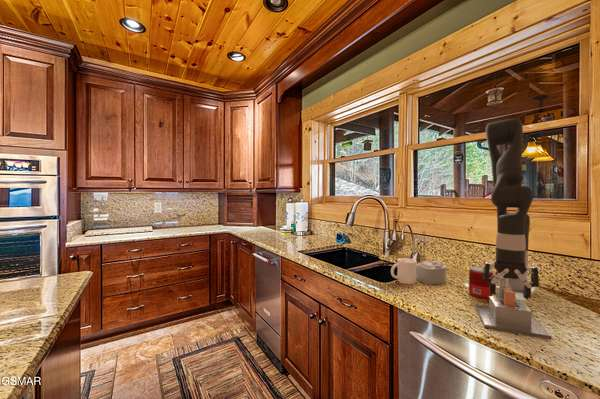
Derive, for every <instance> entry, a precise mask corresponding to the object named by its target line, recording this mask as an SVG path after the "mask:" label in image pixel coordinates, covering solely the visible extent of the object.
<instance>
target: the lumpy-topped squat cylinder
mask: <svg viewBox="0 0 600 399" xmlns="http://www.w3.org/2000/svg"><path fill="white" fill-rule="evenodd" d="M417 280H418V281H420V282H422V283H423V284H426V285H441V284H444V283H446V282H447V266H446V264H443V263H442V262H438V261H430V260H423V261H422V262H419V263H416V281H417Z"/></svg>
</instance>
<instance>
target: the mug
mask: <svg viewBox="0 0 600 399" xmlns="http://www.w3.org/2000/svg"><path fill="white" fill-rule="evenodd" d="M396 268H397V272H396V273H397V274H396V275H395V269H396ZM390 274H391V276H392V278H394V279H397V282H399V283H400V284H402V283H403V285H410V286H411V285H415V284H416V283H417V260H416V259H414V258H407V257H406V258H405V257H400V258H399V257H398V258H397V263H394V264H393V265H392V266H391V269H390Z"/></svg>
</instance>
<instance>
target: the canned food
mask: <svg viewBox="0 0 600 399" xmlns="http://www.w3.org/2000/svg"><path fill="white" fill-rule="evenodd" d="M483 269H484V266H477V265H476V266H475V265H473V266H470V267H469V271H468V272H469V276H468V277H469V278H468V280H469V281H468V292H469V295H471V296H472V297H475V298H478V299H484V300H485V299H486V300H489V296H492V297H493V294H492V293H491V292H490V290H489V282H488V281H485V280H484V279H483ZM493 274H494V270H493V268H492V269H491V270H489V278H491V277H492V276H493Z"/></svg>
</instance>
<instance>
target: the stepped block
mask: <svg viewBox="0 0 600 399" xmlns="http://www.w3.org/2000/svg"><path fill="white" fill-rule="evenodd" d="M515 300H516V292H515V290H504V301H502V305H507V306H514V307H517V306H516V305H515Z"/></svg>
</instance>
